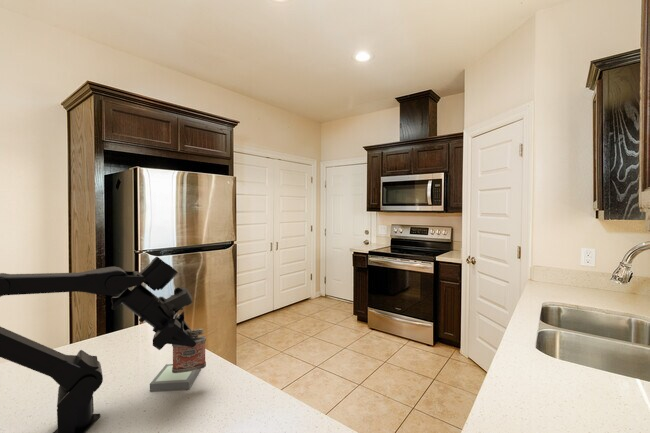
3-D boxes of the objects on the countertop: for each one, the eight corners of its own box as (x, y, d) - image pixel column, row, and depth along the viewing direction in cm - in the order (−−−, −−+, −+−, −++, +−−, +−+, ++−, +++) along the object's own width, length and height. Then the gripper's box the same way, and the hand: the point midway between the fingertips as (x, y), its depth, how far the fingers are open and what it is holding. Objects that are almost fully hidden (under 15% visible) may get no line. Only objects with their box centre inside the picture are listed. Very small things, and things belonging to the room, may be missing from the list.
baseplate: (189, 389, 81) (188, 381, 81) (149, 391, 80) (149, 383, 80) (200, 369, 91) (200, 362, 91) (166, 371, 90) (165, 364, 90)
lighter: (171, 374, 76) (171, 335, 76) (172, 368, 79) (172, 330, 79) (206, 368, 79) (206, 330, 79) (205, 362, 83) (205, 325, 82)
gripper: (169, 289, 69) (220, 330, 73) (174, 273, 86) (216, 307, 90) (128, 329, 66) (184, 369, 70) (142, 303, 83) (187, 337, 88)
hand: (195, 342), depth 80 cm, fingers closed on lighter, 3 cm apart
